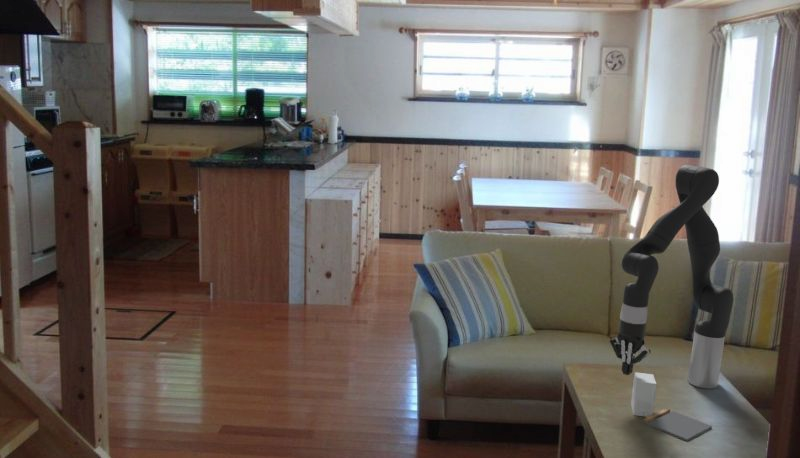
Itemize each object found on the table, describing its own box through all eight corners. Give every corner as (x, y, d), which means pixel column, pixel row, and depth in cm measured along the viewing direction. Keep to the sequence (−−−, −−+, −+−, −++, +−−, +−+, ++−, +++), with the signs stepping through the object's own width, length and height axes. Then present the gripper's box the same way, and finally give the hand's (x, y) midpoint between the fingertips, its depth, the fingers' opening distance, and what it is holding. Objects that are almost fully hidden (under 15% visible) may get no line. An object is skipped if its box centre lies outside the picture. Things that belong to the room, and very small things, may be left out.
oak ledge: (666, 411, 227) (666, 407, 227) (669, 413, 226) (670, 409, 226) (644, 421, 219) (644, 418, 219) (648, 423, 218) (648, 419, 218)
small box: (652, 418, 222) (657, 384, 220) (632, 415, 223) (637, 381, 221) (649, 407, 230) (653, 374, 228) (630, 404, 231) (634, 371, 229)
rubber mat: (672, 412, 227) (673, 410, 226) (711, 427, 218) (711, 426, 218) (647, 424, 217) (647, 422, 217) (686, 441, 209) (687, 439, 209)
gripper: (660, 322, 223) (653, 378, 227) (621, 310, 233) (614, 364, 237) (646, 327, 219) (639, 384, 222) (606, 314, 228) (600, 369, 232)
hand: (626, 373), depth 229 cm, fingers closed
